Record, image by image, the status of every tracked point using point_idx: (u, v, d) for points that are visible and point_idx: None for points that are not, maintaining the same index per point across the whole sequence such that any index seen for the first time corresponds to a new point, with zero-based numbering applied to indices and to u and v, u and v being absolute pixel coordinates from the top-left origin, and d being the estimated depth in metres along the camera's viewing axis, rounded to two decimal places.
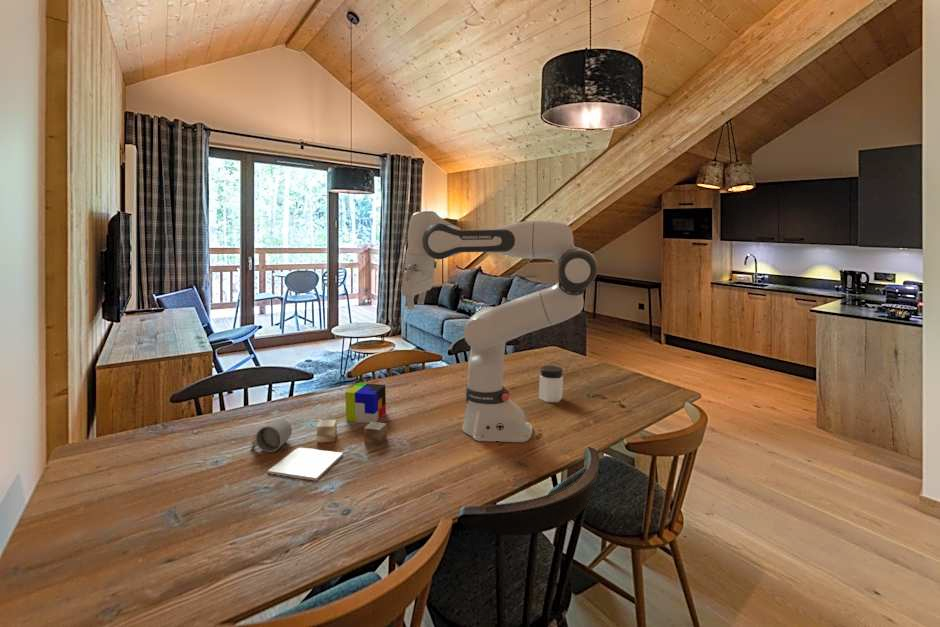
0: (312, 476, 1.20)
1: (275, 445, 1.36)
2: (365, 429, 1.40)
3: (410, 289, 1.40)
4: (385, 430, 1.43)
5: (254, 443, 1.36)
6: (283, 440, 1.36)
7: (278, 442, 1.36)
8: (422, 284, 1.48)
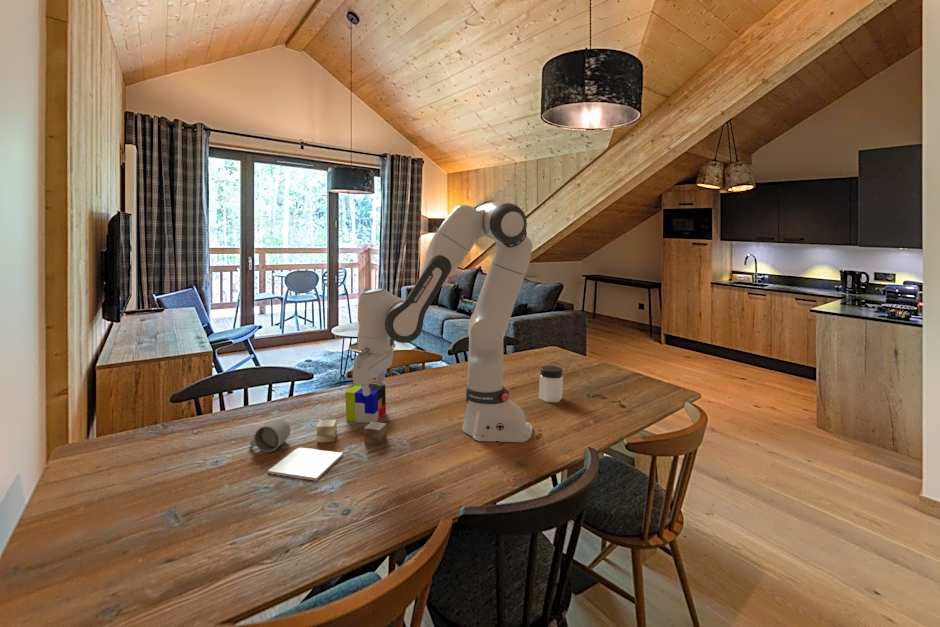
0: (312, 476, 1.20)
1: (273, 445, 1.36)
2: (365, 429, 1.40)
3: (362, 377, 1.29)
4: (385, 430, 1.43)
5: (252, 443, 1.36)
6: (281, 440, 1.36)
7: (276, 442, 1.36)
8: (378, 367, 1.38)
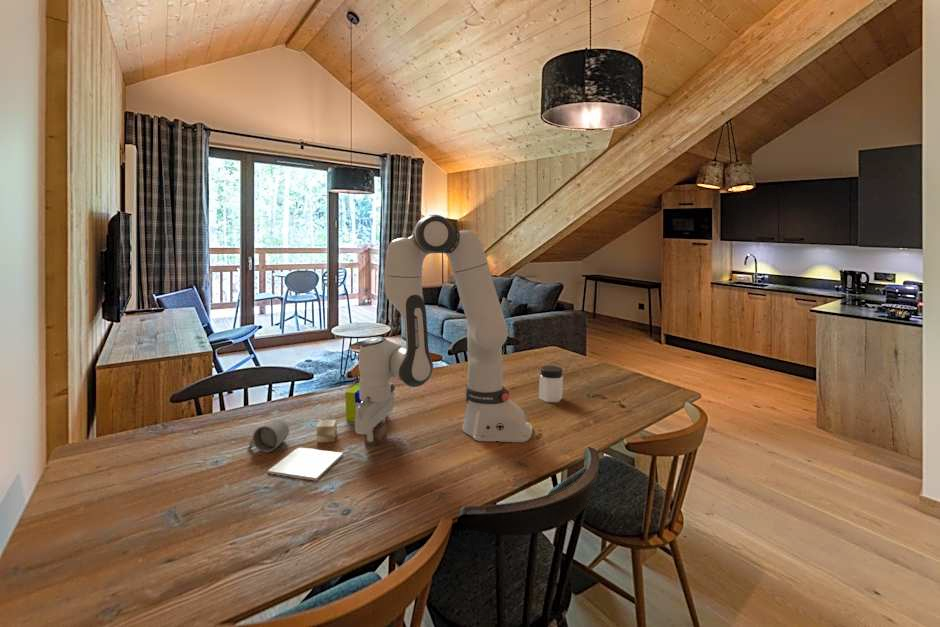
0: (312, 476, 1.20)
1: (272, 445, 1.36)
2: None
3: (364, 427, 1.31)
4: (385, 430, 1.43)
5: (251, 443, 1.36)
6: (280, 440, 1.36)
7: (275, 442, 1.36)
8: (379, 414, 1.40)
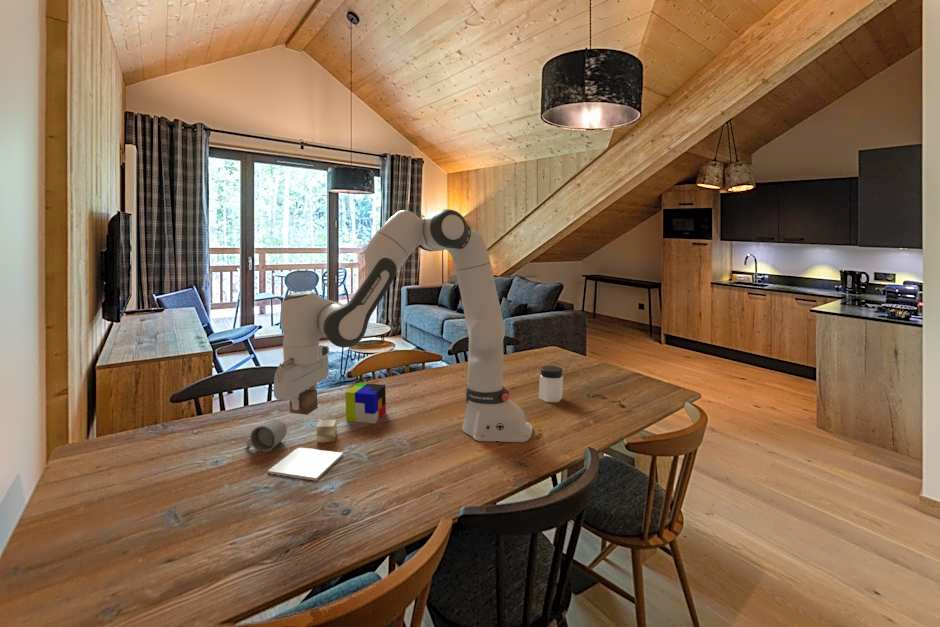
0: (312, 476, 1.20)
1: (270, 445, 1.36)
2: None
3: (284, 392, 1.14)
4: (315, 397, 1.26)
5: (249, 443, 1.36)
6: (277, 440, 1.36)
7: (273, 442, 1.36)
8: (307, 379, 1.23)
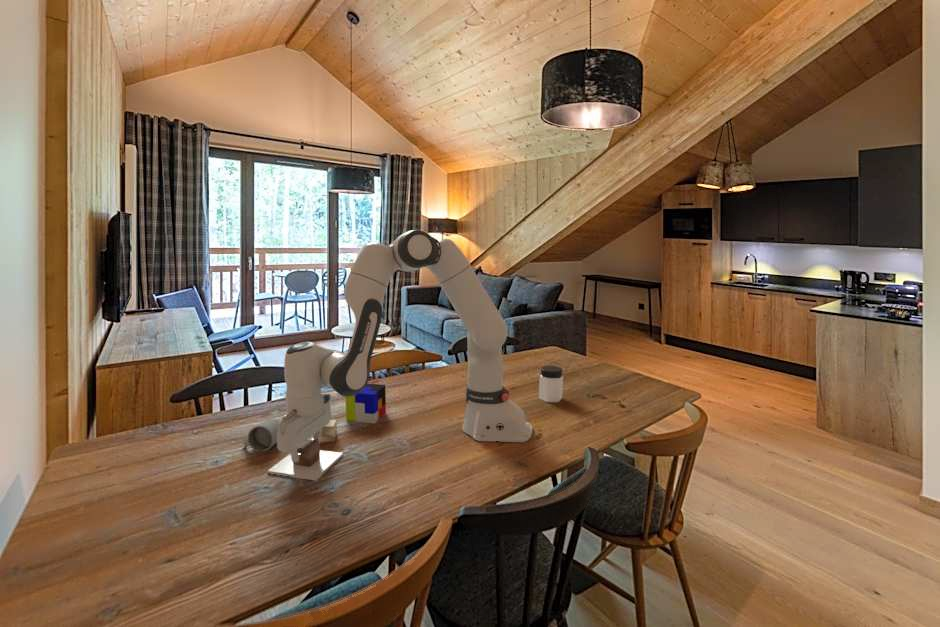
0: (312, 476, 1.20)
1: (267, 445, 1.36)
2: None
3: (287, 444, 1.17)
4: (317, 449, 1.28)
5: (246, 443, 1.36)
6: (275, 440, 1.36)
7: (270, 442, 1.36)
8: (309, 428, 1.25)
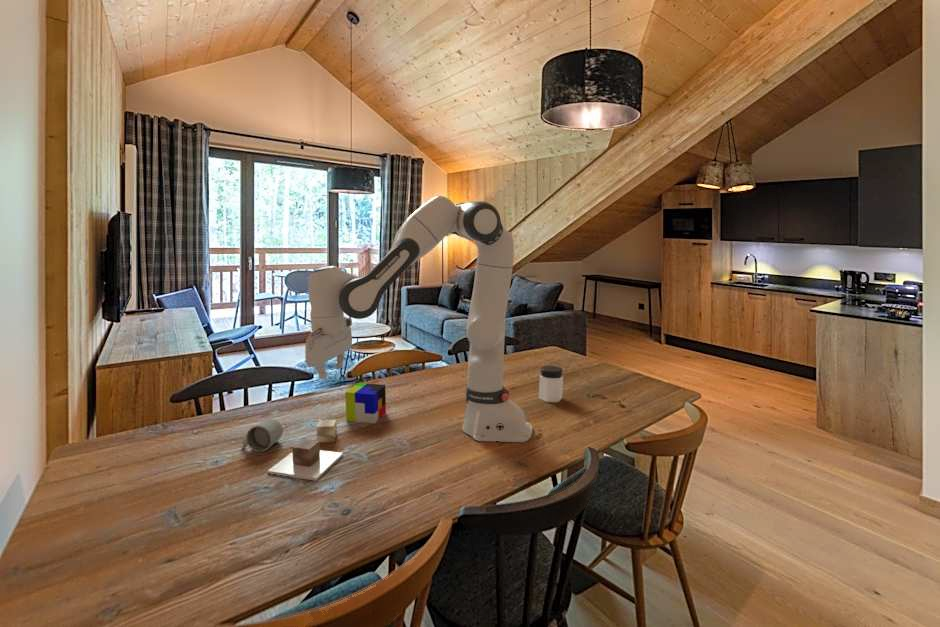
0: (312, 476, 1.20)
1: (265, 445, 1.36)
2: (293, 448, 1.25)
3: (315, 358, 1.23)
4: (317, 449, 1.28)
5: (245, 442, 1.36)
6: (273, 440, 1.36)
7: (268, 442, 1.36)
8: (334, 348, 1.31)
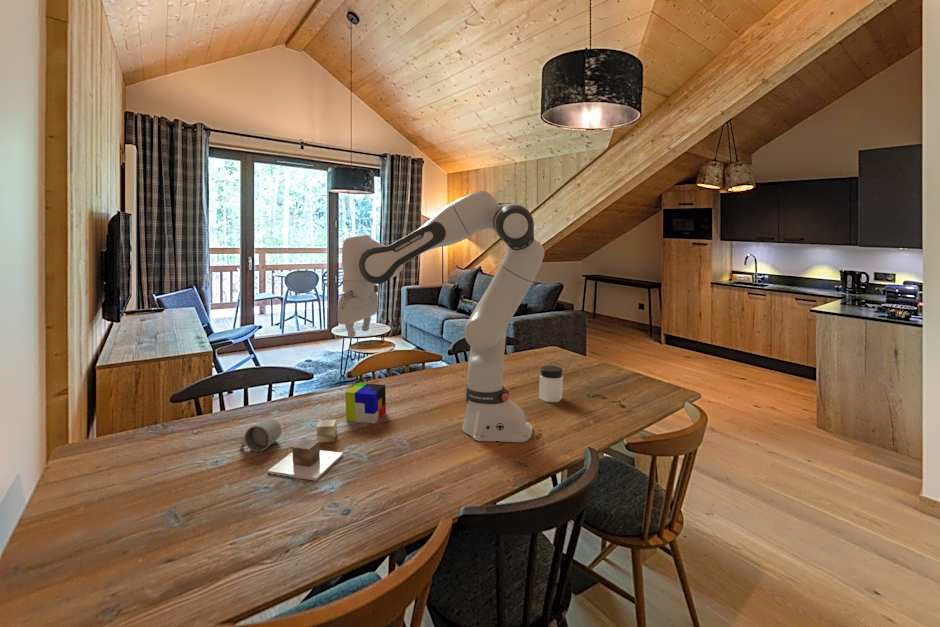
0: (312, 476, 1.20)
1: (264, 444, 1.36)
2: (293, 448, 1.25)
3: (346, 317, 1.35)
4: (317, 449, 1.28)
5: (243, 442, 1.36)
6: (272, 440, 1.36)
7: (267, 441, 1.36)
8: (362, 310, 1.43)
